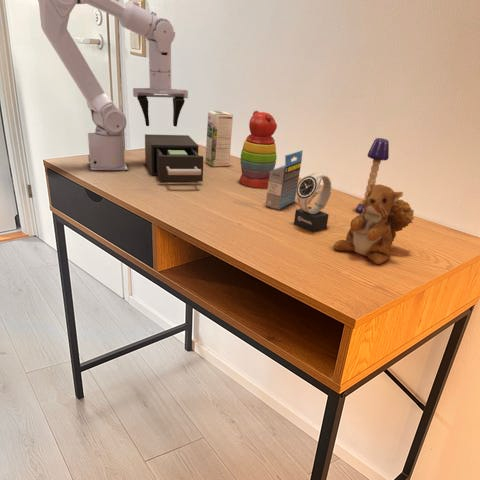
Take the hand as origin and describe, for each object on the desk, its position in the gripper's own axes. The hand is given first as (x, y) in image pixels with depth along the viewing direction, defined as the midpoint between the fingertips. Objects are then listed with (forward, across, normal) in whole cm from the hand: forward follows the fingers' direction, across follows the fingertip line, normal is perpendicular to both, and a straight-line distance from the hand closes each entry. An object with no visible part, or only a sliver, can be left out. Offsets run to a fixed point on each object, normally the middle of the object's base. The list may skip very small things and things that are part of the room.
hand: (161, 125), depth 136 cm
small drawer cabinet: (+10, +2, -6) cm, 12 cm away
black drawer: (+10, +2, -18) cm, 20 cm away
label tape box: (+11, +22, -38) cm, 46 cm away
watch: (+11, +24, -53) cm, 59 cm away
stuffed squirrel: (+11, +30, -67) cm, 74 cm away
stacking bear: (+11, +22, -20) cm, 32 cm away
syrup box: (+11, +16, 0) cm, 20 cm away
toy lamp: (+11, +42, -45) cm, 62 cm away
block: (+8, +2, -16) cm, 18 cm away
